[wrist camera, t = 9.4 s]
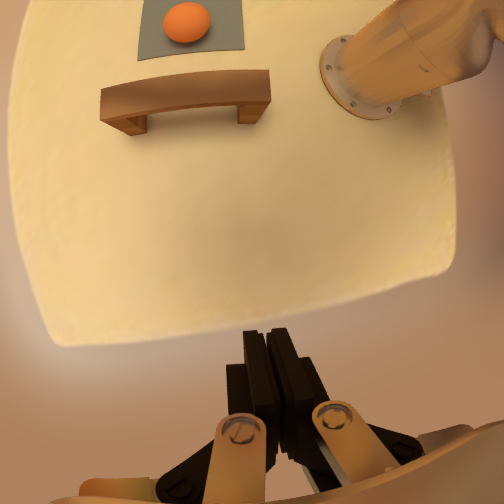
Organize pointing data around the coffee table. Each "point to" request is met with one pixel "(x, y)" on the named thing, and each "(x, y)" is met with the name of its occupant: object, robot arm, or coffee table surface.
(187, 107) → the bridge
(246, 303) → the coffee table surface
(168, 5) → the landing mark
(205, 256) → the coffee table surface
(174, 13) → the ball
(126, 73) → the coffee table surface
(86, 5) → the coffee table surface
